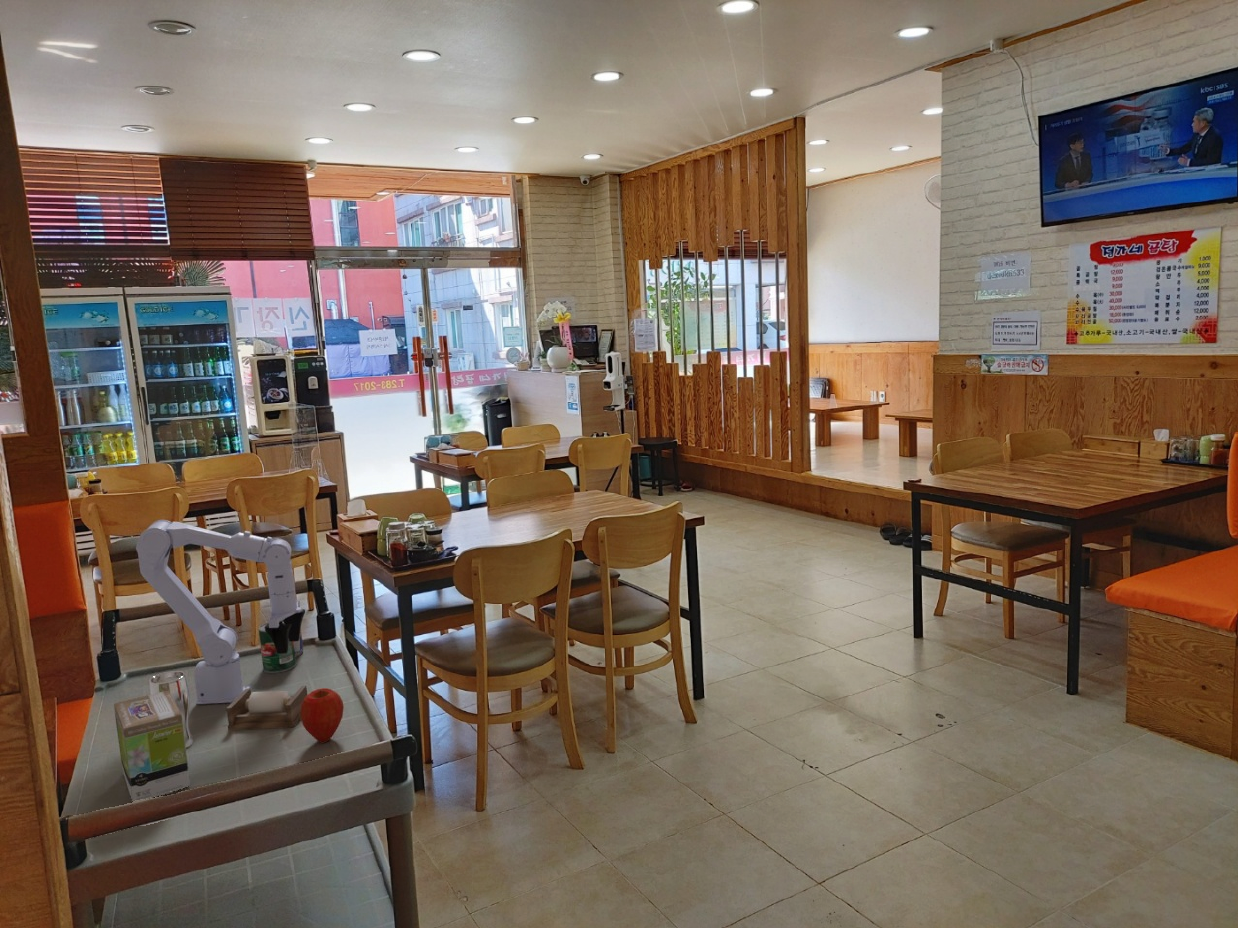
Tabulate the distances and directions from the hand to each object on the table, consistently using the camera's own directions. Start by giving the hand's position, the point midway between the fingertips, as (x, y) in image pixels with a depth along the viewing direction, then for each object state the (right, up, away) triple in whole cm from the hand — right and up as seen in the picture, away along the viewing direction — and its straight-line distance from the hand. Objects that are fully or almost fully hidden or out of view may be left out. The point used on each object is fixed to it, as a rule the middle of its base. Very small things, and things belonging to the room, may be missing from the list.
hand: (288, 646), depth 207 cm
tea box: (-10, -17, -40) cm, 45 cm away
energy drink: (-8, -7, +23) cm, 25 cm away
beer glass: (-13, -15, -26) cm, 33 cm away
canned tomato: (-8, -8, +14) cm, 18 cm away
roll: (+2, -9, -16) cm, 18 cm away
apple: (+18, -14, -27) cm, 35 cm away
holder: (+2, -12, -15) cm, 20 cm away
